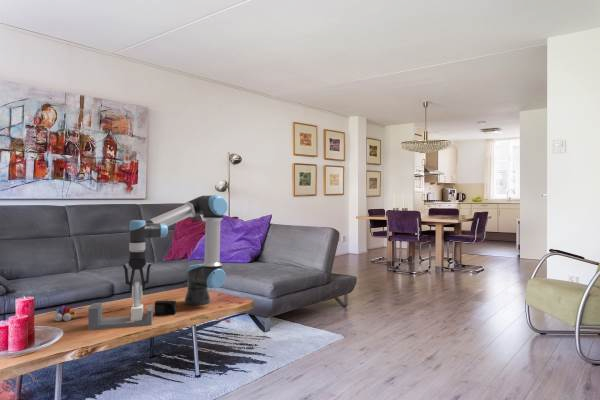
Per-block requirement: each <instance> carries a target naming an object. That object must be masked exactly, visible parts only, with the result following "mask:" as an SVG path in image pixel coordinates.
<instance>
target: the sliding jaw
mask: <svg viewBox="0 0 600 400" xmlns="http://www.w3.org/2000/svg"><path fill="white" fill-rule="evenodd" d="M141 284H142V281H135V282H134V281H133V285H134V299H133V304H132V305H131V307H130V316H131V321H140V320H142V318H143V316H144V303H142V301H141V299H142V298H140V285H141Z"/></svg>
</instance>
